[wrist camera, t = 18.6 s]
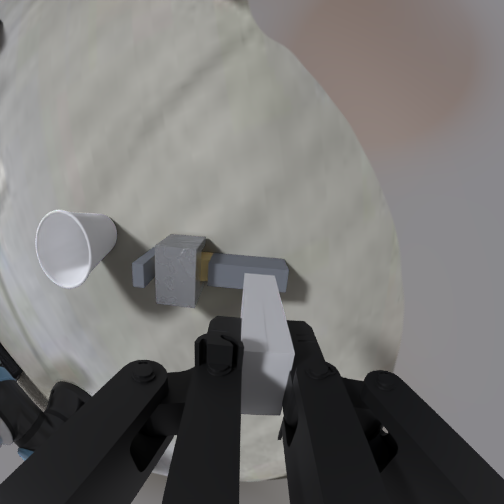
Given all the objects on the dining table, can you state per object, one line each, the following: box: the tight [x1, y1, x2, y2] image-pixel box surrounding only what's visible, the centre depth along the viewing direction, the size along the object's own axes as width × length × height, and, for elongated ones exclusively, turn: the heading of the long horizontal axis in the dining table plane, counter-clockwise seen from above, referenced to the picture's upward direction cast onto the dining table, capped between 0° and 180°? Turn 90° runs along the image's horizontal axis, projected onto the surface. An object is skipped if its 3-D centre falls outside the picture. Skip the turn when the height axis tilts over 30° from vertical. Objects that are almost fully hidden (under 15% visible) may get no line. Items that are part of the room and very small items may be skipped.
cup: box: [36, 210, 117, 289], centre depth 32 cm, size 10×10×11 cm
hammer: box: [132, 247, 289, 292], centre depth 35 cm, size 19×3×8 cm, turn 85°
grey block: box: [155, 234, 206, 308], centre depth 35 cm, size 5×7×7 cm
